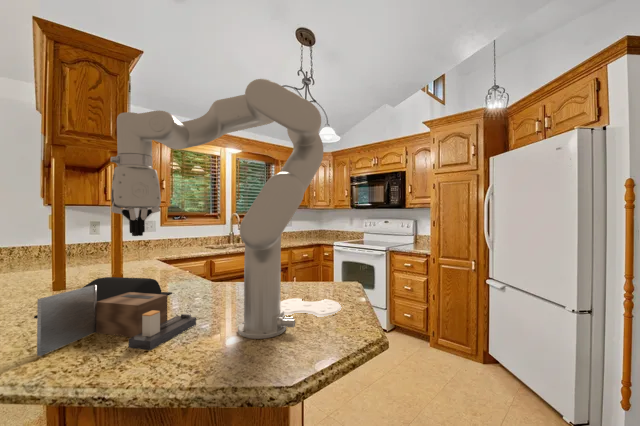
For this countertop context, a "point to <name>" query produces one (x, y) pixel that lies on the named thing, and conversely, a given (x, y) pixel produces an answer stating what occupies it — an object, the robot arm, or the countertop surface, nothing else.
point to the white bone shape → (310, 307)
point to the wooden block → (128, 312)
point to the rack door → (65, 318)
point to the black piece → (124, 287)
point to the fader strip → (163, 332)
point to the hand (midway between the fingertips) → (137, 235)
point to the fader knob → (150, 323)
